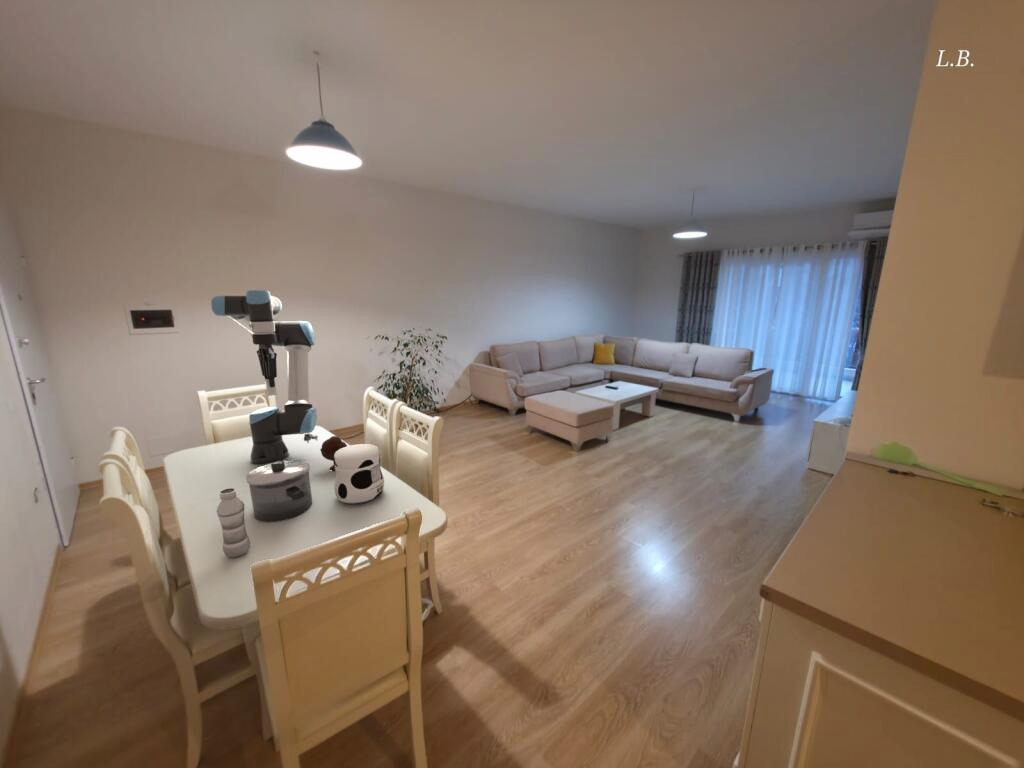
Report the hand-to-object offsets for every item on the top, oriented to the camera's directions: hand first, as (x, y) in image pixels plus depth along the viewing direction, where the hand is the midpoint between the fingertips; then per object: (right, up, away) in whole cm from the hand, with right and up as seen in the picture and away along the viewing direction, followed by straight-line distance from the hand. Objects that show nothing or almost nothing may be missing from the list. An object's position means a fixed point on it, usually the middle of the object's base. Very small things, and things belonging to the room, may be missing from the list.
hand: (272, 394), depth 154 cm
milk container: (+35, -38, -3) cm, 52 cm away
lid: (+10, -27, -14) cm, 32 cm away
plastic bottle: (+12, -46, -36) cm, 59 cm away
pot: (+13, -40, -13) cm, 44 cm away
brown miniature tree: (+15, -33, +21) cm, 42 cm away
